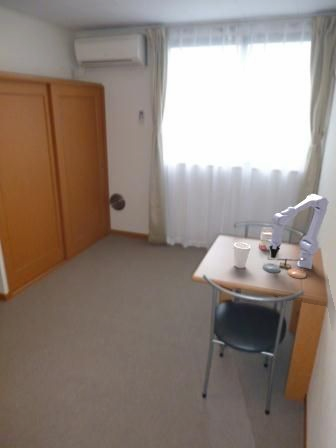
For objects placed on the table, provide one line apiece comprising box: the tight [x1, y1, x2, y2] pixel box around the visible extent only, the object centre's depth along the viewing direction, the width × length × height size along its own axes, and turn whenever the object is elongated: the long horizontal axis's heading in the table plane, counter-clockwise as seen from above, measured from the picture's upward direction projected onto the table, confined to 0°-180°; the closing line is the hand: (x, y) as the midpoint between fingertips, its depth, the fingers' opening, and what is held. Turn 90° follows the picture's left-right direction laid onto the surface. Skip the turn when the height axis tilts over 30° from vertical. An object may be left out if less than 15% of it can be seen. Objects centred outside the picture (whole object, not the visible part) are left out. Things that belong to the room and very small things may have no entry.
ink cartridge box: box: [258, 226, 273, 251], centre depth 218 cm, size 9×5×15 cm, turn 92°
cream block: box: [268, 250, 280, 261], centre depth 189 cm, size 5×5×6 cm
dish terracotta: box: [286, 268, 307, 279], centre depth 187 cm, size 10×10×1 cm
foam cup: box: [233, 242, 251, 269], centre depth 192 cm, size 10×9×13 cm
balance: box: [266, 256, 306, 270], centre depth 195 cm, size 5×22×8 cm, turn 67°
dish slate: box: [262, 263, 281, 274], centre depth 192 cm, size 10×10×1 cm
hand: (273, 256), depth 189 cm, fingers closed on cream block, 5 cm apart
